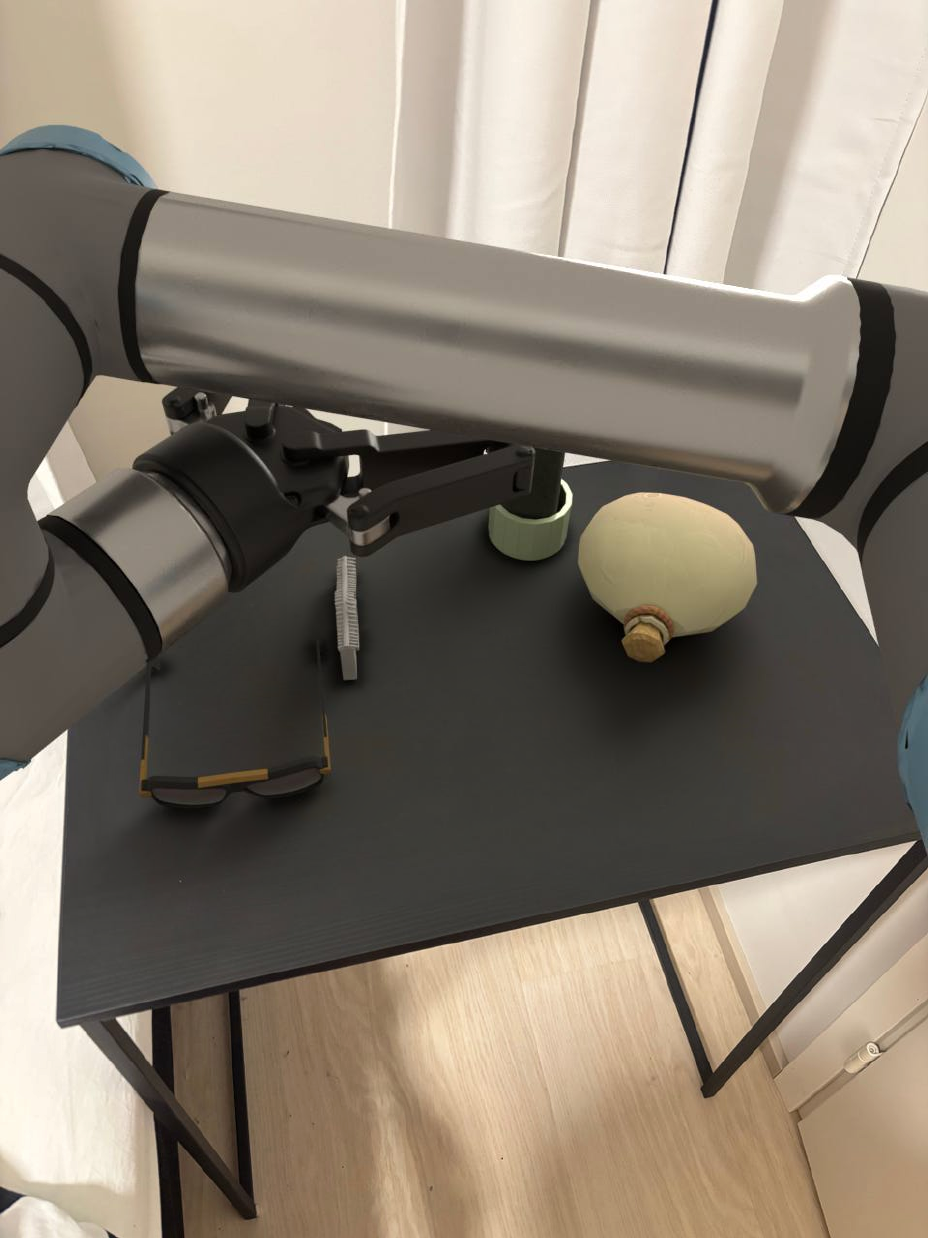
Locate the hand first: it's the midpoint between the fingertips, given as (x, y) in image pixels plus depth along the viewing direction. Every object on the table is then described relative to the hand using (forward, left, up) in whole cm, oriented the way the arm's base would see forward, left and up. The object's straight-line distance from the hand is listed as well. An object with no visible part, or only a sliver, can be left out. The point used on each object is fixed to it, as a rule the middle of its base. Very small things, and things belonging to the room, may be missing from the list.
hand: (465, 328), depth 53 cm
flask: (-12, -16, -34) cm, 39 cm away
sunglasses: (+12, +14, -34) cm, 39 cm away
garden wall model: (+10, 0, -34) cm, 36 cm away
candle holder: (+2, -19, -34) cm, 39 cm away
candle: (+2, -19, -34) cm, 39 cm away
